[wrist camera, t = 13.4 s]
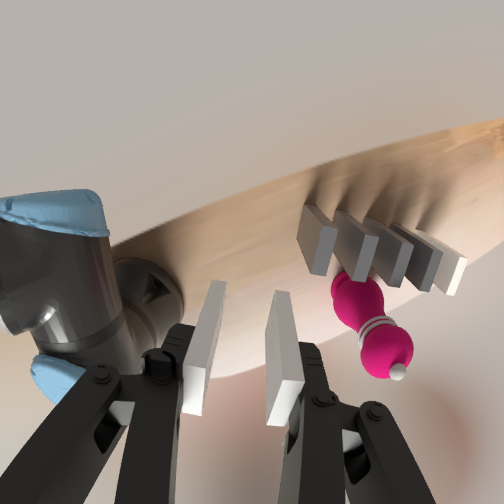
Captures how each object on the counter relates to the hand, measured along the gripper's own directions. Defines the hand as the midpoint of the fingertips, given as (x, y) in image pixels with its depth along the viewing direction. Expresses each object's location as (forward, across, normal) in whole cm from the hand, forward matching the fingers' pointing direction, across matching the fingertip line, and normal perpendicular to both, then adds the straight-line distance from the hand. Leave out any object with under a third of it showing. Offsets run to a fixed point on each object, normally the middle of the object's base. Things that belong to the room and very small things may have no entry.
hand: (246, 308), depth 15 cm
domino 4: (+25, +20, 0) cm, 32 cm away
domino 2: (+25, +12, 0) cm, 27 cm away
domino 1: (+25, +7, 0) cm, 25 cm away
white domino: (+25, +25, 0) cm, 35 cm away
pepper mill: (+25, +16, -8) cm, 31 cm away
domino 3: (+25, +16, 0) cm, 29 cm away
